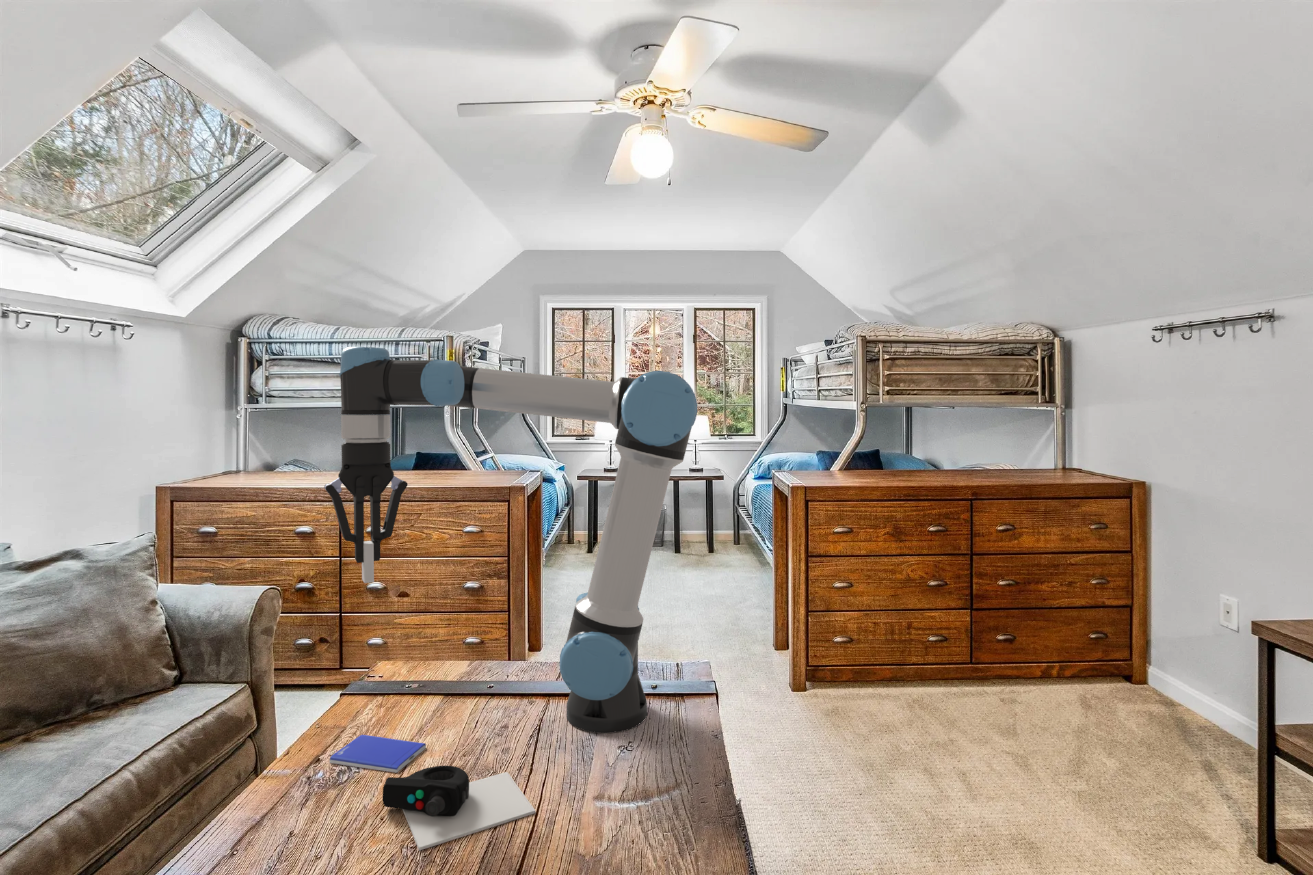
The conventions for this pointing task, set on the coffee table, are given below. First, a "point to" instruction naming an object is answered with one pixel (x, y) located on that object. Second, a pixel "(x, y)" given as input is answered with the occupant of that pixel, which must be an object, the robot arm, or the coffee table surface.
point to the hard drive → (378, 753)
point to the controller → (428, 791)
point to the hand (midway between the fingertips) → (368, 580)
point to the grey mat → (472, 812)
